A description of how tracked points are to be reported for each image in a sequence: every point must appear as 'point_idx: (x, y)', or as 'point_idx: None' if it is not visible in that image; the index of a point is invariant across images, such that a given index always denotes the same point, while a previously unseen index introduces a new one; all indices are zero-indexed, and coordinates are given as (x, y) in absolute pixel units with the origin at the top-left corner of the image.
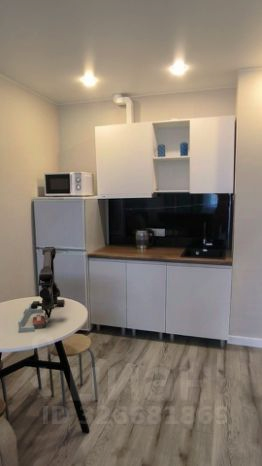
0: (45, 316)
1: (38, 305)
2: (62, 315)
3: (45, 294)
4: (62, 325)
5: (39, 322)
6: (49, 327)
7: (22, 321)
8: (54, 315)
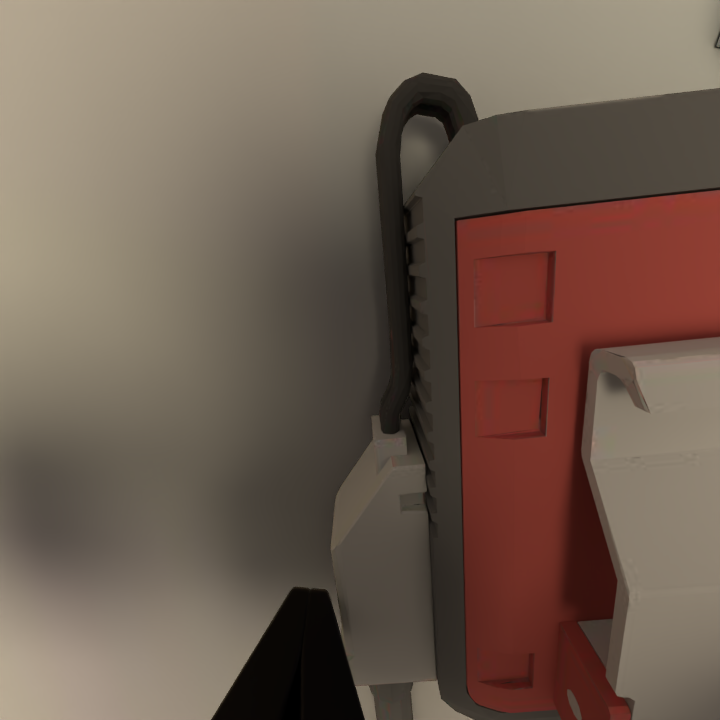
0: (403, 693)
1: None
2: (76, 686)
3: None
4: None
5: (656, 255)
6: (283, 150)
7: None
8: None
